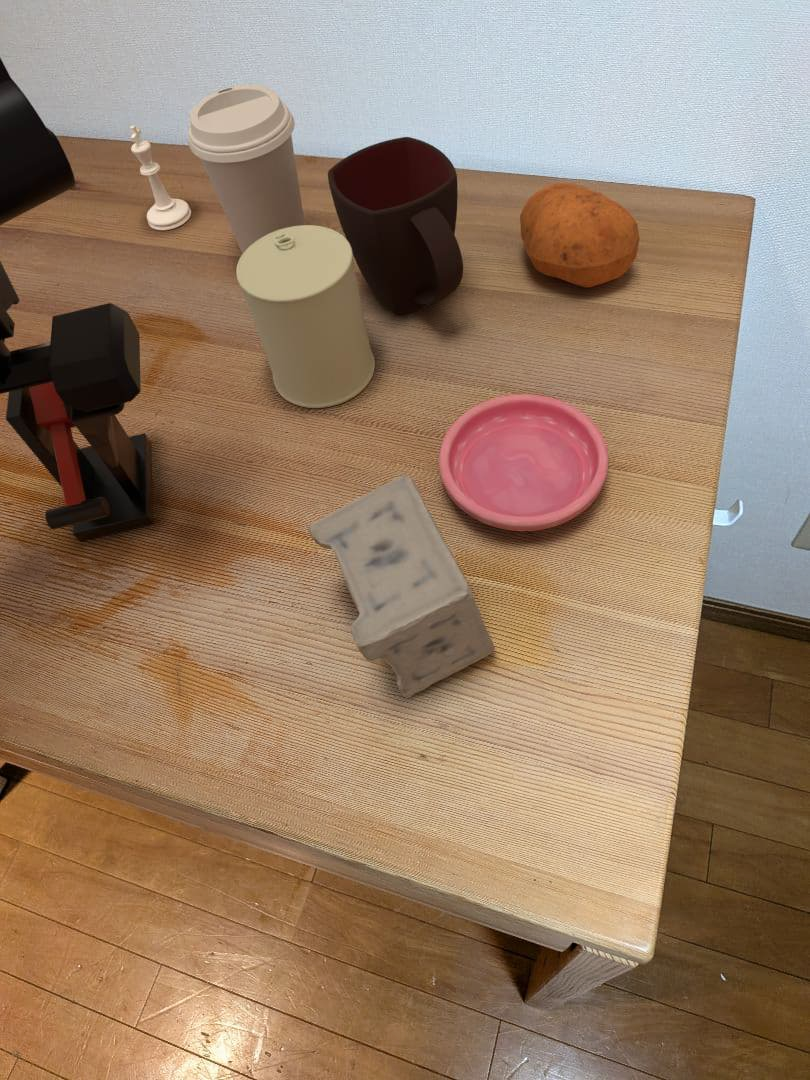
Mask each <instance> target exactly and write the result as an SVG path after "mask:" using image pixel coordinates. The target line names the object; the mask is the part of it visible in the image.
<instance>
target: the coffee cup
mask: <svg viewBox="0 0 810 1080" xmlns="http://www.w3.org/2000/svg"><path fill="white" fill-rule="evenodd" d="M189 123H190V124H189V126H188V131H187V132H188V134H187V140H188V147H189V150H190V151H191V153H192V154H194V156H196V157H197V158H199V159H200V161H201V164H202V166H203V168H204V170H205V173H206V175H207V177H208V179H209V181H210V183H211V186H212V188H213V191H214V193H215V195H216V197H217V200H218V201H219V203H220V206H221V208H222V211H223V212H224V215H225V218H226V220H227V222H228V224H229V226H230V228H231V231H232V233H233V235H234V238H235V240H236V242H237V245H238V247H239V249H240V251H241V254H243V253H244V252H245V251H246V249H247V248H248V247H250V246H251V245H252V244H253V243H254V242H256V241H257V240H259V239H260V238H262V237H264V236H266V235H267V234H270V233H272V232H274V231H277V230H280V229H283V228H288V227H293V226H301V225H306V222H305V215H304V210H303V203H302V197H301V196H302V195H301V190H300V183H299V176H298V170H297V169H298V168H297V164H296V157H295V151H294V143H293V137H292V134H293V132H294V129H295V125H296V124H295V123H296V122H295V118H294V116H293V114H292V112H291V110H290V109H289V107H288V106H287V104H285V102H284V101H282V100H281V99H280V96H279V94H278V93H277V92H275V90H274V89H271V88H270V87H267V86H265V85H264V86H263V85H260V84H259V85H258V84H241V85H234V86H229V87H226V88H222V89H219V90H216V91H214V92H212V93H210V94H208V95H207V96H205V97H203V98H202V99H201V100H199V101H198V102H197V103H196V104H195V105H194V106H193V108H192V109H191V111H190V115H189Z"/></svg>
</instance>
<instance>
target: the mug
mask: <svg viewBox="0 0 810 1080" xmlns="http://www.w3.org/2000/svg"><path fill="white" fill-rule="evenodd" d="M327 180H328V186H329V190H330V194H331V198H332V201H333V206H334V208H335V212H336V215H337V217H338V218H337V219H338V220H339V223H340V226H341V229H342V232H343V234H344V237H345V238H346V239H347V241H348V242H349V244H350V246H351V248H352V252H353V259H354V260H355V263H356V265H357V267H358V270H359V271H360V273H361V275H362V278H363V279H364V281H365V283H366V285H367V286H368V288H369V290H370V293H372V295H373V297H374V298H375V300H376V301H377V303H378V304H379V305H380V306H381V307H382V308H383V309H385V310H386V311H388V312H390V313H392V314H394V315H396V316H401V315H406V314H410V313H413V312H417V311H419V310H422V309H423V308H425V307H427V306H429V305H431V304H434V303H438V302H441V301H444V300H446V298H448V297H449V296H451V295H452V294H453V293H454V292H456V290H457V289H458V288H459V287H460V285H461V283H462V281H463V276H464V275H463V274H464V262H463V256H462V252H461V248H460V245H459V241H458V239H457V237H456V234H455V233H456V227H457V219H458V218H457V216H458V197H459V196H458V191H459V190H458V174H457V171H456V168H455V166H454V164H453V163H452V161H451V159H450V158H449V157H448V156H447V155H446V154H445V153H444V152H442V151H441V150H440V149H439V148H437V147H435V146H434V145H433V144H430V143H428V142H426V141H423V140H421V139H418V138H414V137H411V136H403V137H397V138H391V139H388V140H383V141H381V142H377V143H374V144H371V145H368V146H366V147H363V148H362V149H359V150H357V151H355V152H353V153H351V154H349V155H347V156H346V157H344V158H342V159H341V160H339V162H337V163H335V164H334V165H333V166H332V167H330V169H329V170H328V172H327Z"/></svg>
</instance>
